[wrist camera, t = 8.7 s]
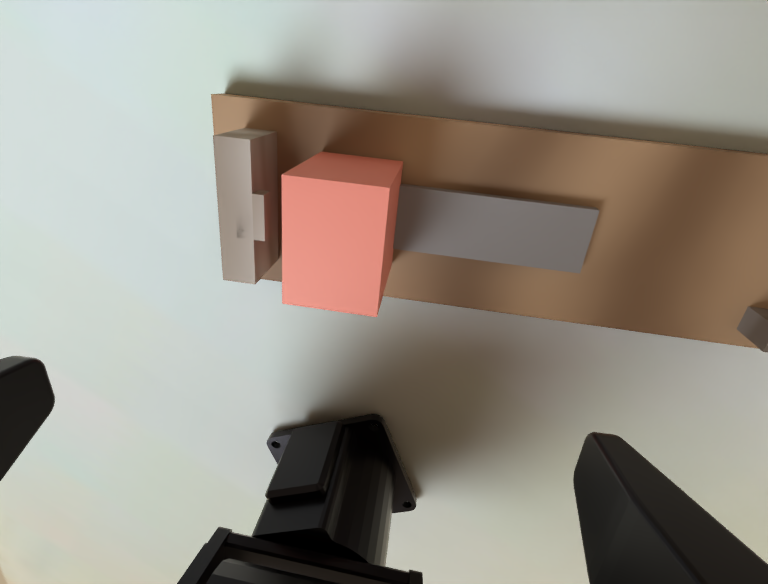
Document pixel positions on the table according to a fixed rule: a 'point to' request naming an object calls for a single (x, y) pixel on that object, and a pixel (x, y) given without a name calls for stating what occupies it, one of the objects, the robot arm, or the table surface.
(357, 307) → the tab
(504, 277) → the plank
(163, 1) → the table surface
